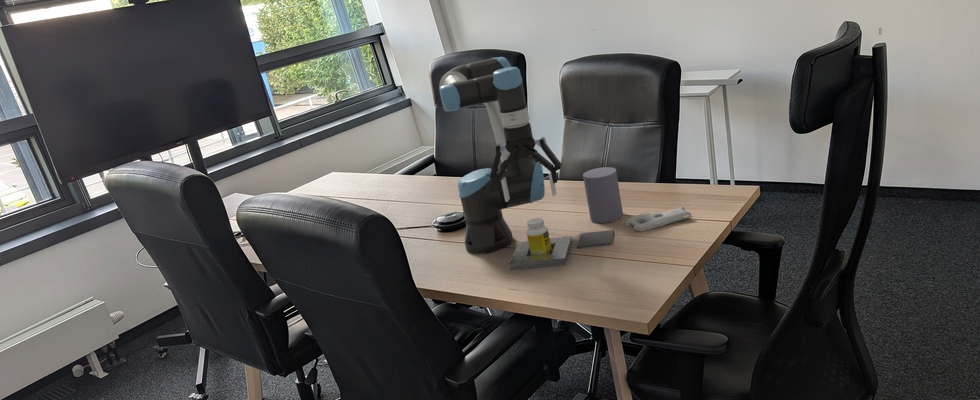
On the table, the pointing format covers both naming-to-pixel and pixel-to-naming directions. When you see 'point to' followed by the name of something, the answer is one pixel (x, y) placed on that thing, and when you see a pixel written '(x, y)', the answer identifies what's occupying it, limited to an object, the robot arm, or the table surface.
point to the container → (603, 194)
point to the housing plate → (558, 256)
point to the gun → (657, 219)
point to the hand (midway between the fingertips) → (530, 197)
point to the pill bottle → (538, 237)
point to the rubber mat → (595, 239)
